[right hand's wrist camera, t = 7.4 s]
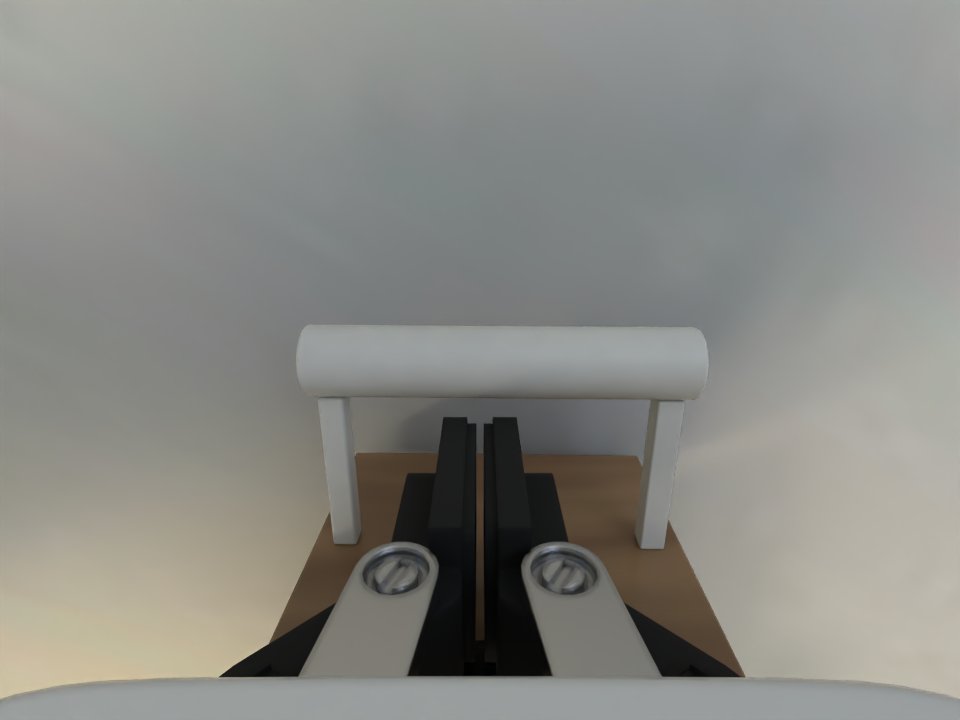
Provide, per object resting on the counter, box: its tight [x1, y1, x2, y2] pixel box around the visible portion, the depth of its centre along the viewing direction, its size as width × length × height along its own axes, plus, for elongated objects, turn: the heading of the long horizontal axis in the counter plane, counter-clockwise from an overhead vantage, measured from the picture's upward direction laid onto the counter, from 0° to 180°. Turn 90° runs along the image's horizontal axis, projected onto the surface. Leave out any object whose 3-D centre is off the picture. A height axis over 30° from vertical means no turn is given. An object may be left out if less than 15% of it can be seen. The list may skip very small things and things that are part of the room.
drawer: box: [269, 325, 746, 678], centre depth 15 cm, size 22×9×10 cm, turn 0°
